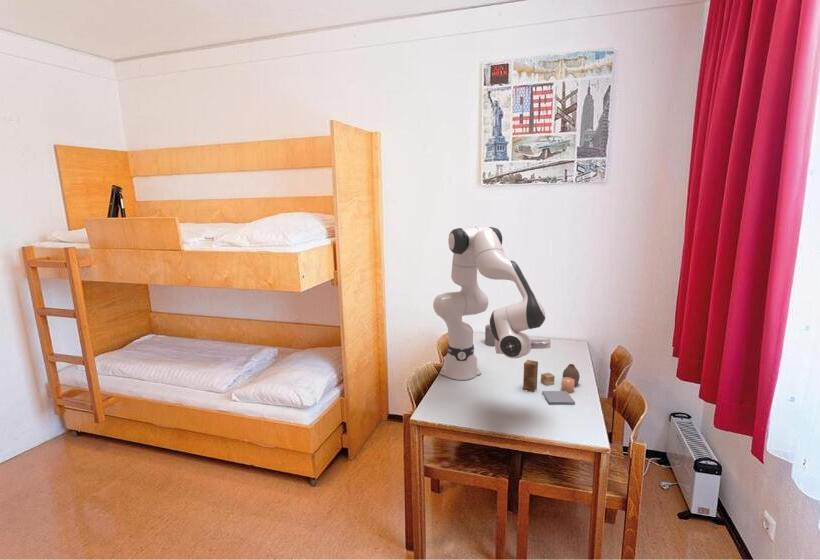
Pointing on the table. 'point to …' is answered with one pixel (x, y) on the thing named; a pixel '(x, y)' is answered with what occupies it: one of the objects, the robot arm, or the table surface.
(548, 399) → the grey pad
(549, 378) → the oak cube
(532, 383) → the walnut block
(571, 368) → the vase
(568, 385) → the peach rounded cylinder
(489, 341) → the coffee mug
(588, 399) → the table surface
